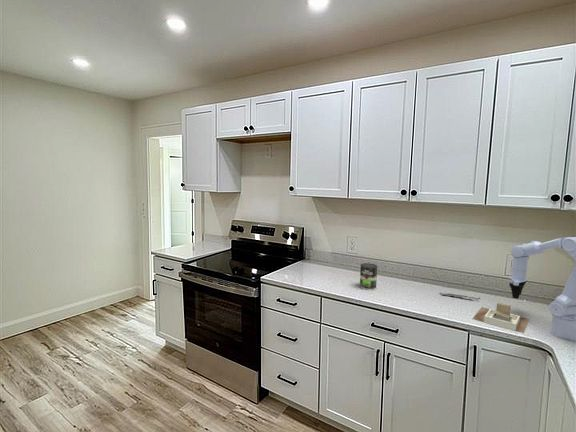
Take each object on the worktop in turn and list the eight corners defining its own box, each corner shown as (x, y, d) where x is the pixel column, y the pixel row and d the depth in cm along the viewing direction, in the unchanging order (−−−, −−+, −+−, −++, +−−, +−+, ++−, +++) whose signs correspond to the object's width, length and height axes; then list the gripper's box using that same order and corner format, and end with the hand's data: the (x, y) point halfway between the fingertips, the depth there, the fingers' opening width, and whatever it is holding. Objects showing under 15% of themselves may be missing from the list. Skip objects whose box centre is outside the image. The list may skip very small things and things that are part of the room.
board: (529, 320, 149) (529, 318, 149) (523, 334, 135) (524, 333, 135) (481, 308, 163) (481, 306, 163) (471, 320, 149) (472, 318, 148)
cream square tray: (489, 314, 154) (490, 308, 153) (519, 322, 146) (520, 316, 145) (484, 322, 145) (484, 316, 145) (515, 330, 137) (516, 324, 137)
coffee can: (374, 291, 187) (375, 268, 185) (357, 288, 192) (358, 266, 190) (378, 286, 196) (379, 264, 194) (361, 283, 201) (362, 262, 199)
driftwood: (439, 296, 181) (439, 292, 181) (439, 292, 187) (440, 289, 187) (480, 303, 171) (480, 300, 171) (479, 299, 177) (480, 296, 177)
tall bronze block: (496, 318, 148) (497, 302, 147) (509, 321, 144) (510, 305, 143) (495, 319, 146) (497, 303, 145) (508, 323, 143) (509, 306, 142)
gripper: (511, 265, 160) (509, 290, 162) (506, 270, 150) (504, 297, 151) (528, 267, 155) (526, 294, 157) (525, 273, 145) (522, 301, 146)
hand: (516, 296), depth 154 cm, fingers open, 7 cm apart
